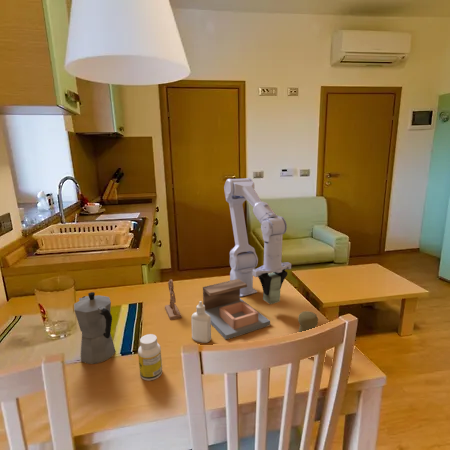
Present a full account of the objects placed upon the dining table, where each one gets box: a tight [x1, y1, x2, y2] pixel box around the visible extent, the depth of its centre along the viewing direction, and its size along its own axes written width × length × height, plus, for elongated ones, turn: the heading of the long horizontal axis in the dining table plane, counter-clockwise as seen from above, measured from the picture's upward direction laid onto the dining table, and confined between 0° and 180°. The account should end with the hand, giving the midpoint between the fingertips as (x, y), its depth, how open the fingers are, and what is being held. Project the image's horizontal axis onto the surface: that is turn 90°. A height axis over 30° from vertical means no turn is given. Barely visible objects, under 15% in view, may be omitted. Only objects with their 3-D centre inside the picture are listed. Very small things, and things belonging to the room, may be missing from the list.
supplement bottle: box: [137, 333, 163, 381], centre depth 75 cm, size 5×5×10 cm
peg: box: [262, 272, 282, 305], centre depth 103 cm, size 4×4×9 cm
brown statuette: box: [164, 279, 182, 321], centre depth 104 cm, size 9×4×12 cm, turn 22°
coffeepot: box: [73, 291, 116, 365], centre depth 82 cm, size 15×9×18 cm, turn 49°
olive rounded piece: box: [297, 310, 319, 332], centre depth 84 cm, size 6×6×11 cm
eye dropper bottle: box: [190, 300, 212, 344], centre depth 89 cm, size 4×6×12 cm
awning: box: [202, 279, 247, 310], centre depth 105 cm, size 6×14×8 cm, turn 119°
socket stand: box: [205, 298, 271, 340], centre depth 101 cm, size 18×16×4 cm
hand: (271, 292), depth 103 cm, fingers closed on peg, 4 cm apart
